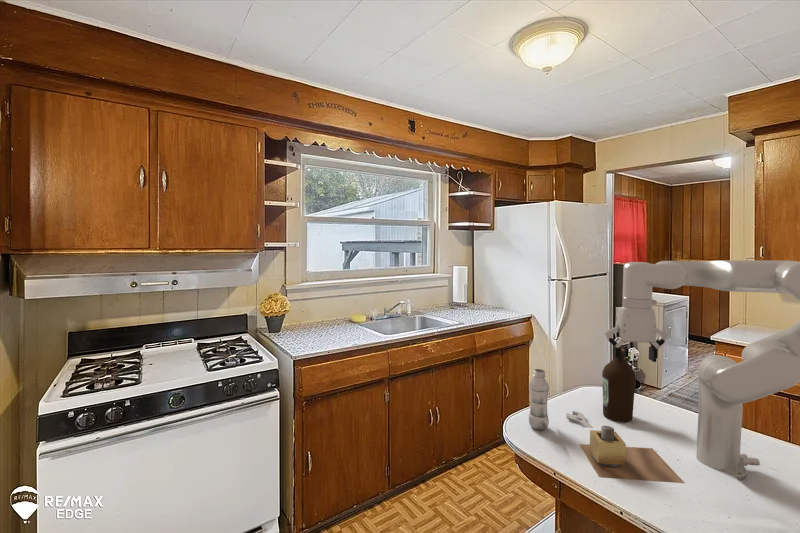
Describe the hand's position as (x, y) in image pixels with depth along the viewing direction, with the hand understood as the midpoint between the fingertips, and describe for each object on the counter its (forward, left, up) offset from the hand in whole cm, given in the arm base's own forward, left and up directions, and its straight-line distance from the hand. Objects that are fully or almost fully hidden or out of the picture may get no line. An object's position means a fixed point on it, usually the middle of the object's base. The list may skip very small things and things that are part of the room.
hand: (635, 360), depth 118 cm
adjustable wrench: (+9, -12, -29) cm, 32 cm away
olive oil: (-5, -24, -28) cm, 38 cm away
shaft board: (+5, +9, -28) cm, 30 cm away
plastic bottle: (+25, -12, -28) cm, 40 cm away
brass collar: (+11, +9, -26) cm, 29 cm away
